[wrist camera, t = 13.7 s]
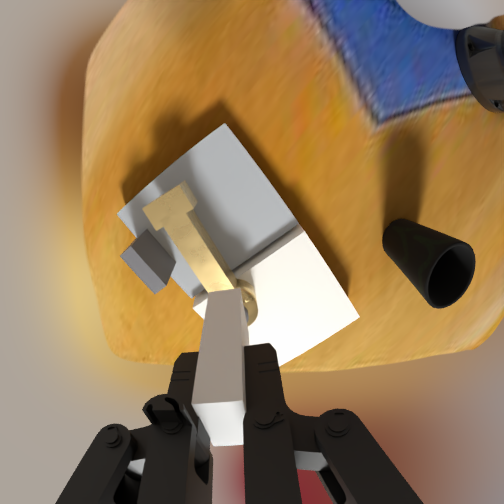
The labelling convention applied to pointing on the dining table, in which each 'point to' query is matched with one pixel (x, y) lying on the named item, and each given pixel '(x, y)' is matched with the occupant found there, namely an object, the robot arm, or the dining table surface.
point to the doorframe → (242, 247)
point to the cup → (430, 261)
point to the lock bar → (197, 244)
